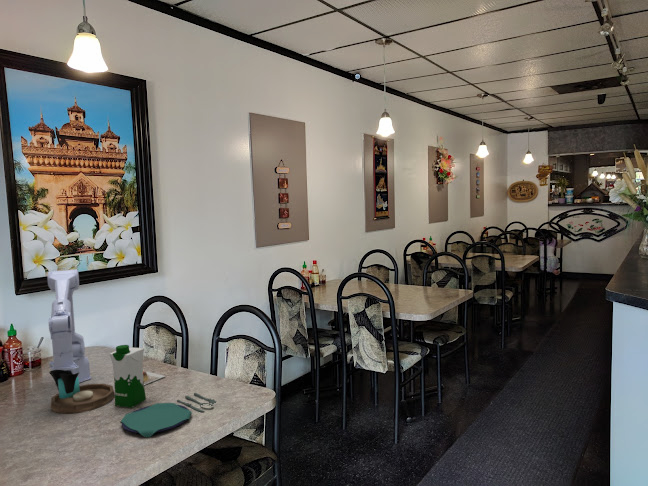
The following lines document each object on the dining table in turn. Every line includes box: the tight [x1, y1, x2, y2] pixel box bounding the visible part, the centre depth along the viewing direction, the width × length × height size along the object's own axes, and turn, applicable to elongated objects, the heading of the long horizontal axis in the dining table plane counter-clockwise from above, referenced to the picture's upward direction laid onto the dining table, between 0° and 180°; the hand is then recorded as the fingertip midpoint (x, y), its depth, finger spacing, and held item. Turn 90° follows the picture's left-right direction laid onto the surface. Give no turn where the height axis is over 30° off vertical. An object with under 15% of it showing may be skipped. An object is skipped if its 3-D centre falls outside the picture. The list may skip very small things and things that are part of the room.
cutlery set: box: [119, 392, 217, 438], centre depth 150 cm, size 20×30×2 cm, turn 140°
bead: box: [57, 378, 73, 399], centre depth 158 cm, size 4×4×6 cm
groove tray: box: [50, 383, 115, 415], centre depth 163 cm, size 20×20×2 cm
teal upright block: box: [69, 377, 80, 398], centre depth 166 cm, size 4×4×6 cm
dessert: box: [143, 368, 166, 386], centre depth 182 cm, size 12×12×5 cm
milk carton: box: [109, 344, 147, 409], centre depth 160 cm, size 9×9×20 cm
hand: (65, 391), depth 158 cm, fingers closed on bead, 4 cm apart
